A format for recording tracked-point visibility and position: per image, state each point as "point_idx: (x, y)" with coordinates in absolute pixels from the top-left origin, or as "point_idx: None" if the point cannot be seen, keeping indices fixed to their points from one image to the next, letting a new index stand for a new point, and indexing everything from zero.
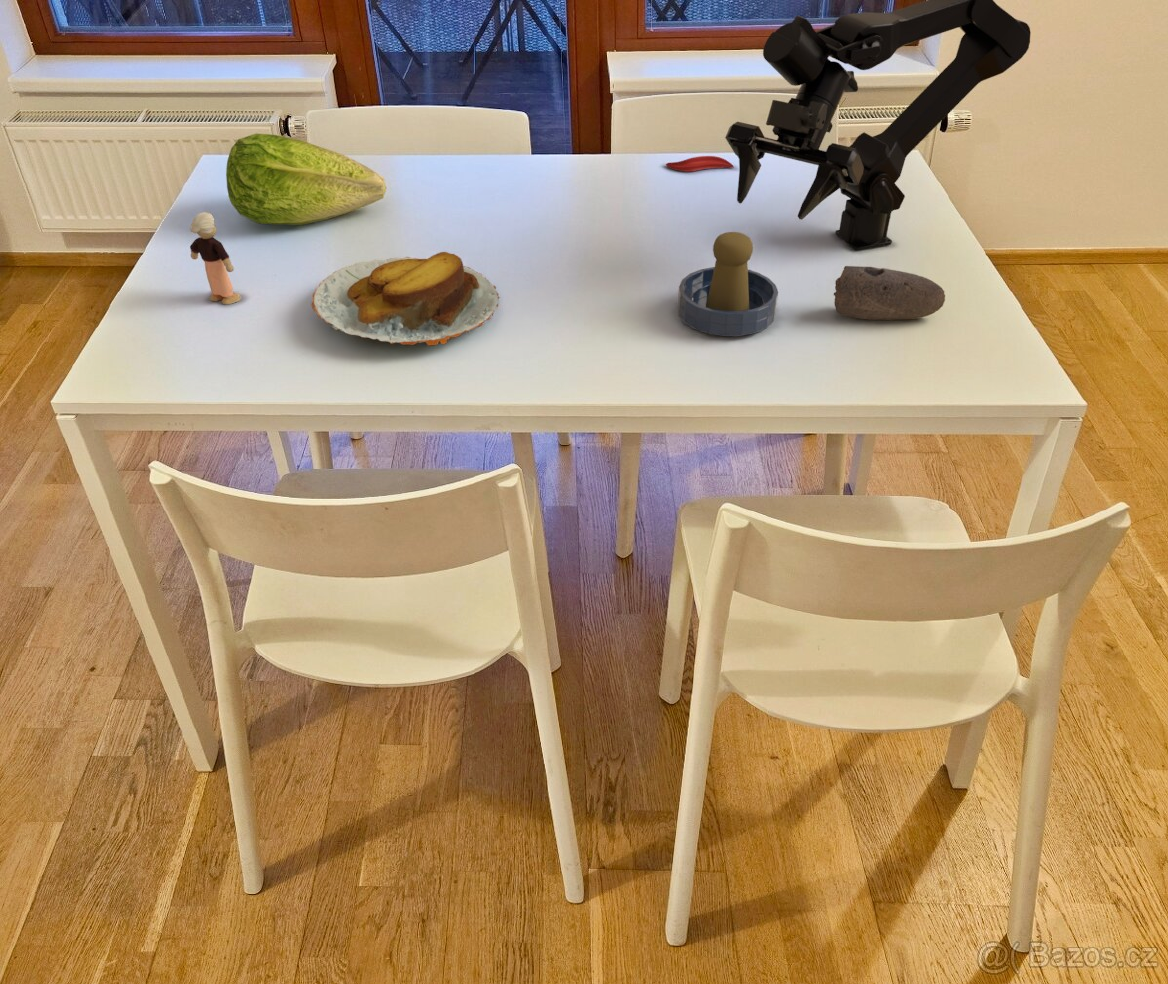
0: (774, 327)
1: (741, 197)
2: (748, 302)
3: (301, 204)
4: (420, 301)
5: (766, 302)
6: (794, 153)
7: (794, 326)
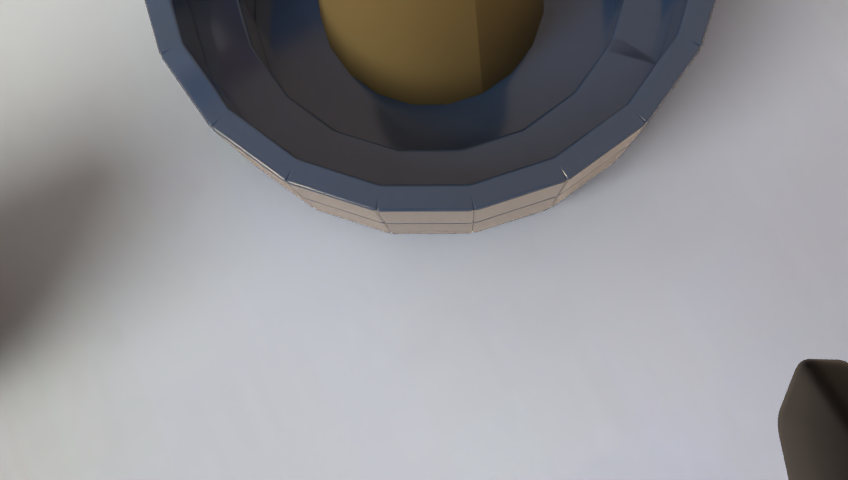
0: None
1: (814, 411)
2: (321, 2)
3: None
4: None
5: (239, 58)
6: None
7: (106, 94)
